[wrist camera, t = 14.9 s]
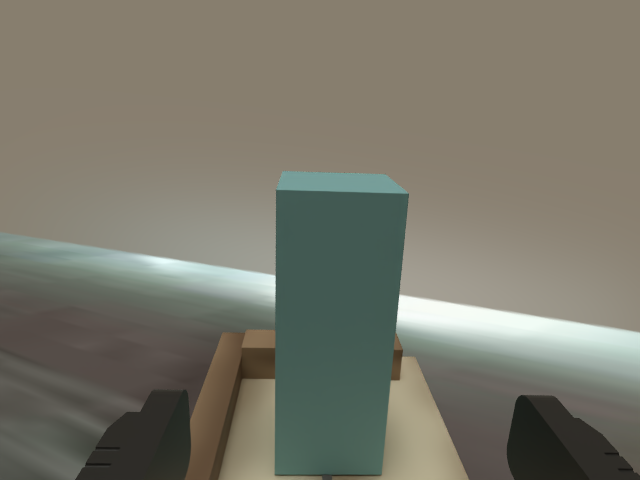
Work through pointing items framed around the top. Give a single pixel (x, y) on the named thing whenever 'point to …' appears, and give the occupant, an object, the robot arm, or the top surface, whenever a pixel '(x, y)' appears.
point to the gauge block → (335, 319)
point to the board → (259, 420)
